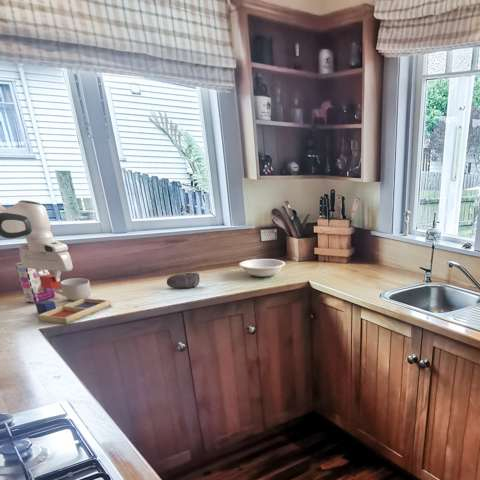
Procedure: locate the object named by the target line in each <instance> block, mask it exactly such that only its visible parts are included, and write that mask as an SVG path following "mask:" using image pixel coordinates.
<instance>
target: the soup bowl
mask: <svg viewBox="0 0 480 480" xmlns="http://www.w3.org/2000/svg"><path fill="white" fill-rule="evenodd" d="M238 265H239V267H240V268H242V269H243V270H244V271H245V272H246V273H247V274H248V275H250V276H254V277H261V278H263V277H271V276H274V275H277V274H279V272H280V271H281V270H282V268H283V267H284V266H285V265H286V262H285V261H284V260H280V259H274V258H253V259H246V260H243V261H241V262H239V263H238Z"/></svg>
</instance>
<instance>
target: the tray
mask: <svg viewBox="0 0 480 480" xmlns="http://www.w3.org/2000/svg"><path fill="white" fill-rule="evenodd" d="M111 306H112V304H111V300H110V299H99V298H90V297H88V298H83V299H81V300H78V301H73V302H70V303H67V304H64V305H61V306H58V307H56V309H53V310H50V311H47V312H45V313H42V314H37V320H38V322H41V323H51V324H62V325H68V324H71V323H73V322H76V321H78V320H80V319H83V318H85V317H88V316H90V315H93V314H95V313H98V312H100V311H103V310H105V309H107V308H110V307H111Z"/></svg>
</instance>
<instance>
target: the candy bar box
mask: <svg viewBox="0 0 480 480" xmlns="http://www.w3.org/2000/svg"><path fill="white" fill-rule="evenodd" d="M15 268H16V271H17V274H18V278H19V281H20V286H21V288H22V292H23V296H24V299H25V303H29V304H30V303H31V304H35V303H37V302H40V301H43V300H49V299H51V298H55V297H56V292H55V291H54V290H53V289H49V288H42V286H41V281H40V277H39V275H38V273H37V272H36V270H35V269H31V268H24V267H23V266H22V264H21V262H17V263H15ZM43 273H44V274H45V275H48V274H50V270H43Z"/></svg>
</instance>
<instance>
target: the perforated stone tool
mask: <svg viewBox="0 0 480 480" xmlns="http://www.w3.org/2000/svg"><path fill="white" fill-rule="evenodd" d="M200 281H201V280H200V274H199V273H198V272H185V273H178V274H173V275H171V276H170V277H168V278H167V279H166V285H167V286H168V287H169V288H172V289H189V288H196V287H197V286H198V285H199V283H200Z"/></svg>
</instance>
